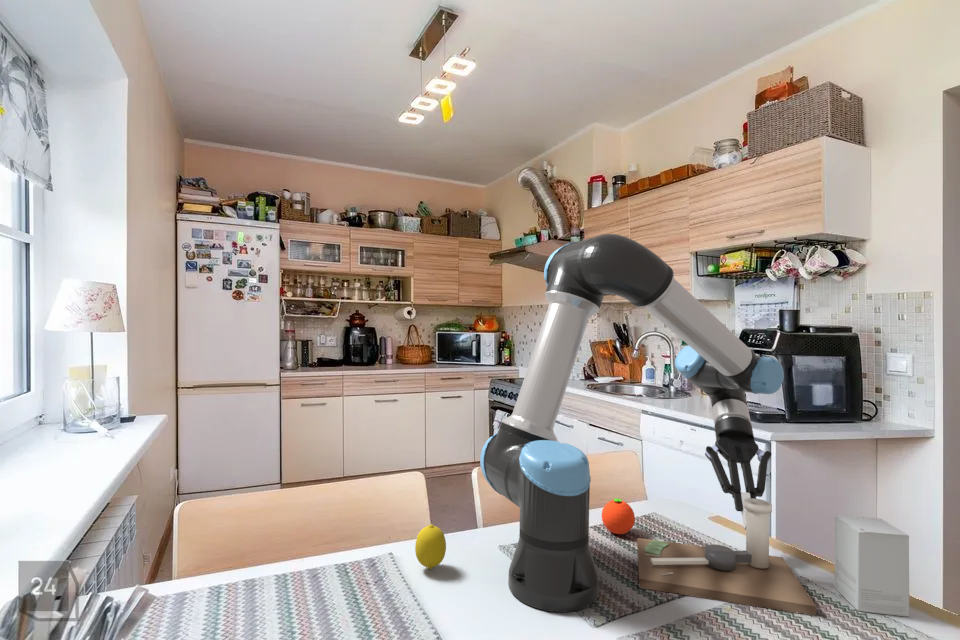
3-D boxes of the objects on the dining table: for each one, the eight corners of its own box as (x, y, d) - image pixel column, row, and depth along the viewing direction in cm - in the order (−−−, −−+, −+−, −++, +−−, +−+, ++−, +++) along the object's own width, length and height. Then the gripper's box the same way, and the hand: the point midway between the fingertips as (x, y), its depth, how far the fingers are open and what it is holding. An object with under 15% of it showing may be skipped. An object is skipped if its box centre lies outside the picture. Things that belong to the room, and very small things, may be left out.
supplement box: (911, 618, 75) (911, 535, 75) (856, 611, 77) (857, 531, 77) (882, 592, 83) (882, 517, 83) (832, 587, 84) (833, 513, 84)
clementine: (598, 523, 110) (598, 492, 110) (630, 525, 109) (630, 493, 109) (603, 539, 102) (604, 504, 102) (638, 540, 101) (638, 506, 101)
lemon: (409, 573, 87) (410, 527, 87) (424, 559, 92) (424, 516, 92) (437, 579, 84) (437, 533, 85) (450, 565, 90) (451, 521, 90)
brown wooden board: (639, 587, 83) (639, 577, 83) (637, 545, 99) (637, 536, 99) (816, 616, 75) (816, 605, 75) (782, 565, 92) (782, 556, 92)
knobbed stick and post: (657, 571, 85) (658, 508, 85) (646, 558, 90) (647, 498, 90) (778, 570, 86) (778, 507, 86) (760, 556, 91) (760, 497, 91)
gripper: (761, 436, 111) (783, 540, 95) (699, 431, 115) (710, 531, 99) (768, 416, 106) (792, 523, 90) (703, 412, 110) (715, 514, 94)
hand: (749, 527), depth 94 cm, fingers closed
